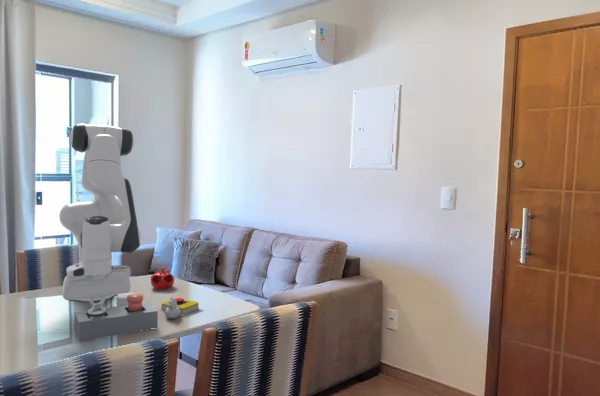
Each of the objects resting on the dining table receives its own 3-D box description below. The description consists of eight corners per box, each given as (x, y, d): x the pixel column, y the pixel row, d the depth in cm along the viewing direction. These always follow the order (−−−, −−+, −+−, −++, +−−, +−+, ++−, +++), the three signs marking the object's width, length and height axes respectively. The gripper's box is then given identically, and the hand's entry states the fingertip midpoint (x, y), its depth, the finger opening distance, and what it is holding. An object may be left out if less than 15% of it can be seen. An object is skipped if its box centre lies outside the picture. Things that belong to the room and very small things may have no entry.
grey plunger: (87, 323, 154) (87, 308, 154) (104, 320, 157) (104, 306, 157) (89, 328, 150) (89, 312, 149) (107, 325, 153) (107, 310, 152)
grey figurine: (161, 319, 168) (161, 297, 167) (171, 313, 174) (171, 292, 173) (174, 321, 166) (174, 299, 166) (184, 315, 173) (184, 294, 172)
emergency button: (175, 293, 186) (204, 300, 179) (175, 304, 187) (204, 311, 179) (157, 299, 178) (187, 306, 171) (157, 310, 179) (186, 318, 171)
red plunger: (125, 309, 160) (125, 295, 160) (141, 307, 163) (141, 293, 163) (128, 313, 156) (129, 298, 156) (144, 311, 159) (145, 296, 159)
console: (74, 330, 155) (74, 312, 155) (148, 318, 168) (148, 302, 167) (79, 341, 146) (79, 322, 145) (157, 328, 159) (157, 311, 158)
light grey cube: (134, 313, 174) (134, 297, 173) (116, 314, 172) (116, 298, 172) (134, 308, 179) (134, 292, 179) (117, 309, 178) (117, 293, 177)
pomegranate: (151, 286, 212) (151, 265, 211) (174, 285, 214) (174, 264, 213) (149, 291, 202) (149, 270, 201) (174, 290, 204) (174, 269, 204)
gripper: (128, 262, 160) (128, 302, 161) (61, 268, 149) (61, 311, 150) (132, 266, 155) (132, 307, 156) (63, 272, 144) (64, 316, 145)
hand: (97, 309), depth 153 cm, fingers closed
